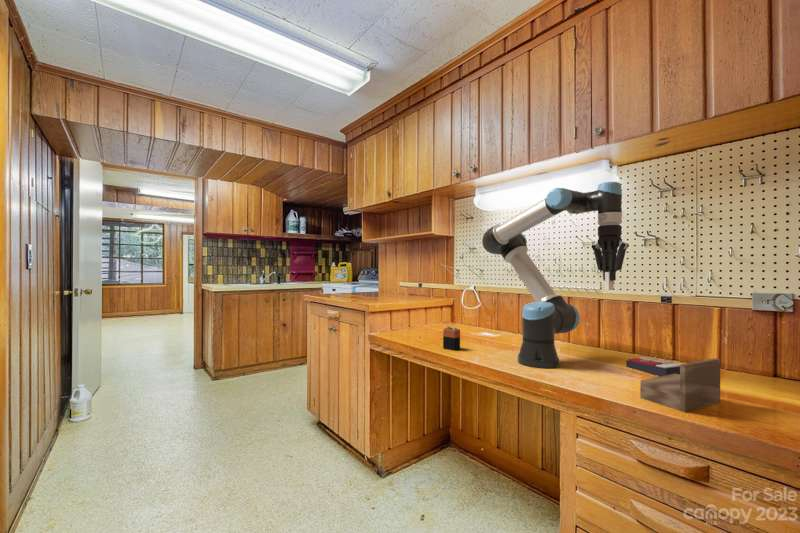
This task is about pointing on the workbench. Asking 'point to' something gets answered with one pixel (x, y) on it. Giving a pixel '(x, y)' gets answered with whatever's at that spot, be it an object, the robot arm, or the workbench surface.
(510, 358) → the workbench surface
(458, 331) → the battery
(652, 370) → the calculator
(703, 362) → the brown wooden l-shaped block
